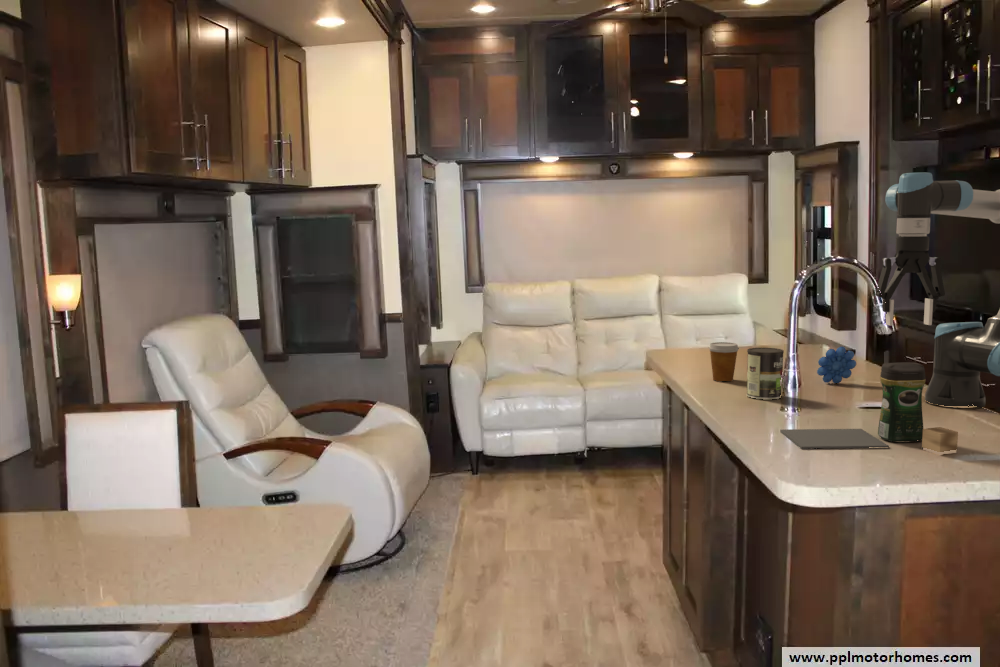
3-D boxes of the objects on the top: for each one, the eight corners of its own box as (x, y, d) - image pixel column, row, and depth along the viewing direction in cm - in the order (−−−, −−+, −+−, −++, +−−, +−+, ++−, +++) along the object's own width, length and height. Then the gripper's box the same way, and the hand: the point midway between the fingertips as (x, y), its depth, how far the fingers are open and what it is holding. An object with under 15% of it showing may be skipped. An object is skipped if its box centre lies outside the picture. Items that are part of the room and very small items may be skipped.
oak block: (938, 448, 197) (940, 426, 196) (956, 453, 192) (958, 431, 192) (921, 450, 195) (922, 428, 195) (939, 455, 191) (940, 434, 190)
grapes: (852, 381, 275) (854, 344, 273) (857, 385, 268) (858, 347, 267) (814, 380, 277) (815, 344, 276) (817, 384, 271) (819, 347, 269)
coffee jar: (912, 434, 209) (916, 359, 206) (928, 443, 201) (932, 365, 198) (872, 435, 209) (875, 360, 206) (886, 443, 201) (890, 365, 198)
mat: (861, 431, 213) (861, 428, 213) (888, 448, 197) (889, 445, 197) (780, 431, 213) (780, 429, 213) (801, 449, 197) (801, 446, 197)
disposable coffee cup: (744, 380, 280) (745, 344, 278) (725, 384, 274) (726, 347, 272) (720, 376, 287) (721, 341, 286) (702, 380, 281) (702, 343, 280)
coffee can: (787, 395, 256) (788, 348, 254) (775, 401, 247) (776, 353, 246) (753, 391, 262) (754, 346, 260) (740, 397, 254) (741, 350, 252)
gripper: (875, 236, 210) (871, 327, 214) (964, 235, 210) (959, 326, 213) (862, 235, 218) (859, 323, 221) (949, 234, 217) (944, 322, 220)
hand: (908, 324), depth 217 cm, fingers open, 9 cm apart
